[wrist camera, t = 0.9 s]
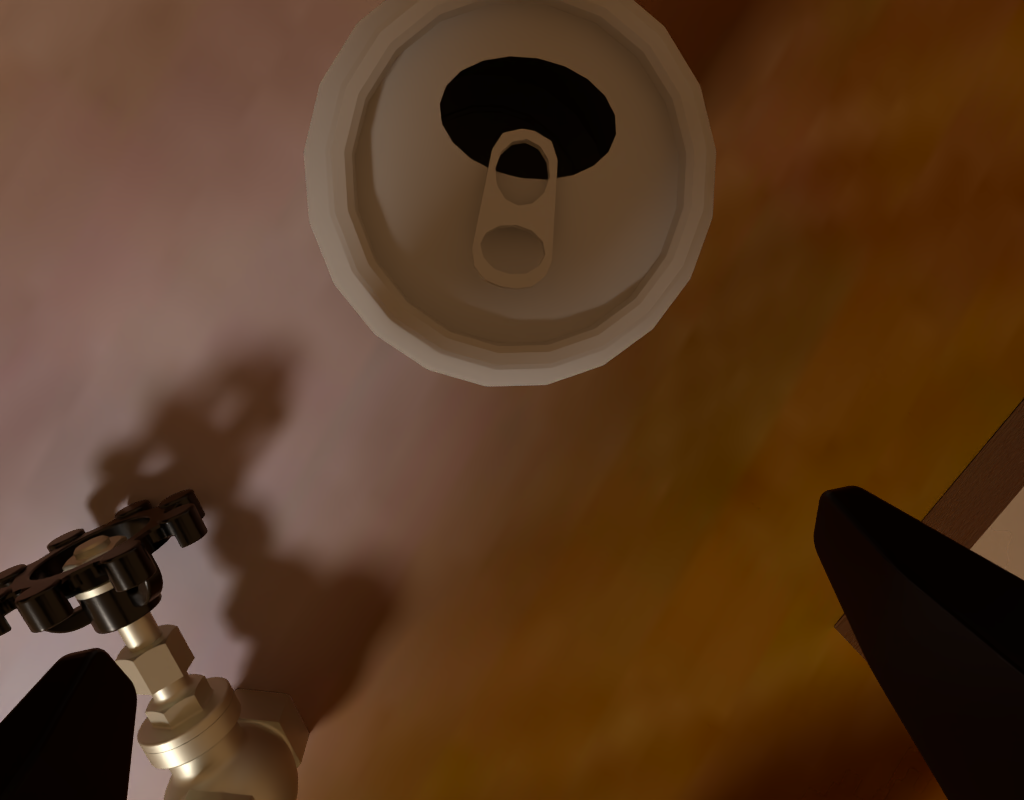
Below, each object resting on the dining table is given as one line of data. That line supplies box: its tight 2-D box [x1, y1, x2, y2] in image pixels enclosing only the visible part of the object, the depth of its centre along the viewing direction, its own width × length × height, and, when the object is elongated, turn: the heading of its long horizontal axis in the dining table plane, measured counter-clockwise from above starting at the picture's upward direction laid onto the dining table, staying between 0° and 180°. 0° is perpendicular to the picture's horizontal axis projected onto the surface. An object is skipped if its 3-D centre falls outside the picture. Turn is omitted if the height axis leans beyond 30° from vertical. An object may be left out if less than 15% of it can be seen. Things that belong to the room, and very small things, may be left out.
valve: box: [0, 489, 309, 800], centre depth 22 cm, size 7×7×12 cm
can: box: [304, 0, 716, 386], centre depth 17 cm, size 8×8×12 cm
